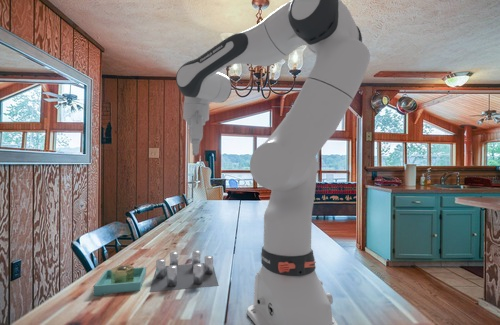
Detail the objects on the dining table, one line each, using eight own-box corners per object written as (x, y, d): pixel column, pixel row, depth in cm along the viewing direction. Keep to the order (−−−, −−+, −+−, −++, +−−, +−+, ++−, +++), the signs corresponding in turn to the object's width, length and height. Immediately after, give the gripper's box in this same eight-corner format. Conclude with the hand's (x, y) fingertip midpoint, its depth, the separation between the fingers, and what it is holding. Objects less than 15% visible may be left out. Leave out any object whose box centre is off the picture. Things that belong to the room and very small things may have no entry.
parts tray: (140, 291, 70) (140, 282, 70) (93, 296, 68) (93, 286, 68) (146, 275, 81) (146, 266, 81) (106, 278, 79) (106, 269, 79)
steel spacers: (215, 283, 75) (215, 265, 75) (153, 288, 71) (153, 270, 71) (210, 264, 90) (210, 249, 90) (158, 268, 86) (158, 252, 86)
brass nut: (135, 278, 78) (135, 263, 78) (131, 285, 73) (132, 270, 73) (113, 279, 76) (113, 265, 76) (108, 287, 71) (108, 271, 71)
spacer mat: (218, 287, 74) (218, 285, 74) (149, 293, 70) (149, 292, 70) (212, 263, 91) (212, 262, 91) (156, 267, 87) (156, 266, 87)
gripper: (207, 109, 83) (207, 153, 83) (203, 120, 103) (203, 155, 103) (187, 107, 82) (186, 153, 81) (186, 119, 102) (186, 155, 101)
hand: (195, 154), depth 92 cm, fingers open, 8 cm apart
